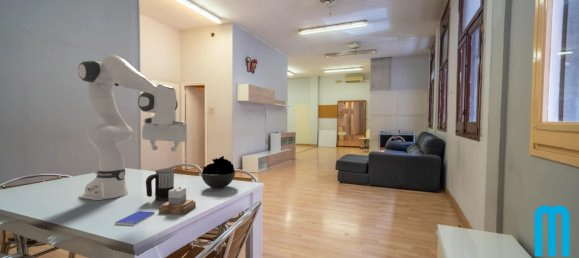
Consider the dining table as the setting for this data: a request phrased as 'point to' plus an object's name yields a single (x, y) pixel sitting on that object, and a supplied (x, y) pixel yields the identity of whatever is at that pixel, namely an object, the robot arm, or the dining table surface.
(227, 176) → the coal bowl
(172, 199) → the block
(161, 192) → the milk frother
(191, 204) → the walnut stand
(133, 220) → the hard drive
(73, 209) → the dining table surface
